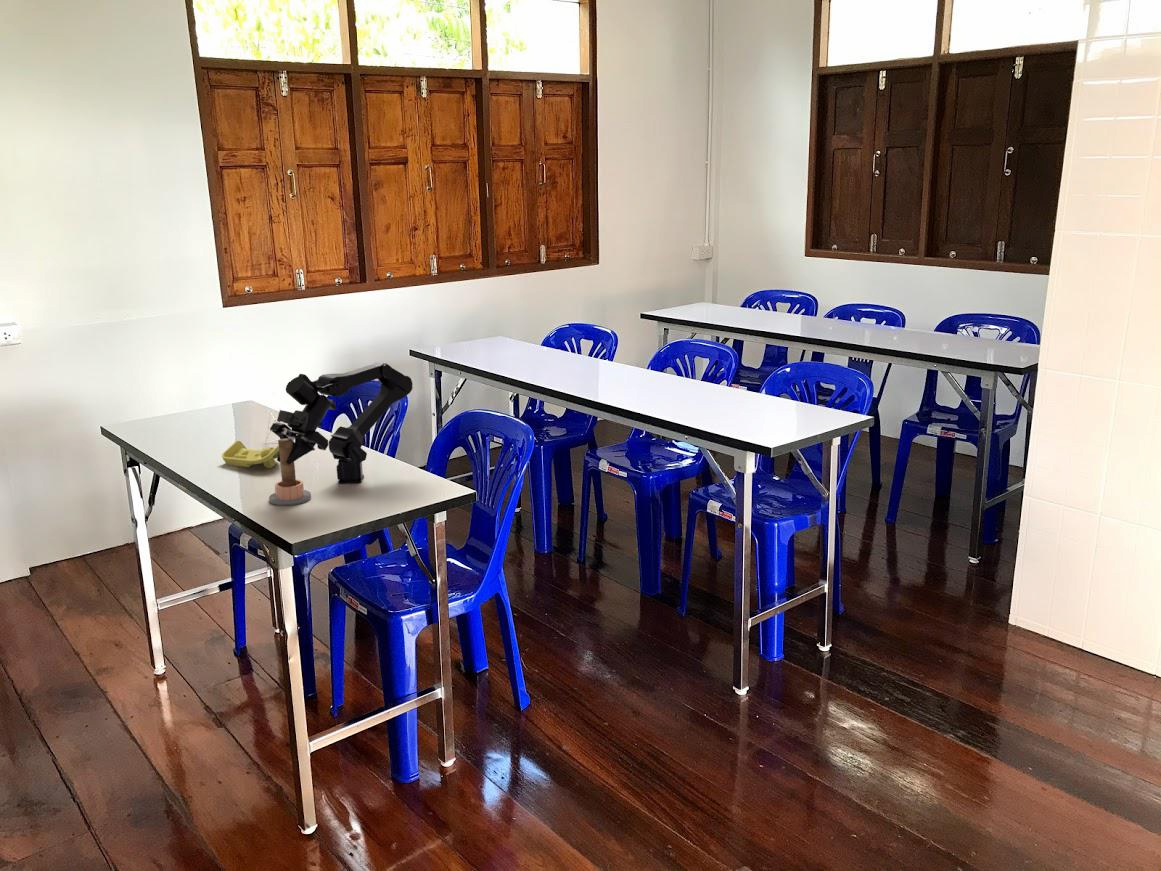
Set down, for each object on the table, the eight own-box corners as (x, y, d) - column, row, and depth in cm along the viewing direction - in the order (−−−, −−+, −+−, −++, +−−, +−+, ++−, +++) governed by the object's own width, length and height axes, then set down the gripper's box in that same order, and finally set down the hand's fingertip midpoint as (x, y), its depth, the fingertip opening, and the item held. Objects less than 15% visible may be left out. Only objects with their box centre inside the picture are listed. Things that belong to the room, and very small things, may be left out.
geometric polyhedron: (266, 447, 316) (264, 420, 313) (263, 439, 325) (261, 413, 323) (306, 443, 320) (304, 417, 318) (301, 435, 330) (299, 409, 328)
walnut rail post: (292, 481, 265) (288, 437, 262) (298, 484, 263) (294, 440, 260) (280, 484, 263) (275, 440, 260) (286, 487, 261) (281, 442, 257)
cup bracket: (314, 492, 270) (313, 476, 269) (306, 505, 259) (305, 489, 258) (274, 493, 269) (273, 478, 268) (264, 506, 258) (263, 490, 257)
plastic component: (218, 457, 296) (240, 437, 302) (230, 475, 300) (251, 455, 307) (262, 462, 286) (283, 441, 292) (273, 481, 290) (294, 459, 296)
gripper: (272, 393, 265) (241, 441, 260) (316, 402, 255) (284, 452, 249) (298, 415, 274) (269, 462, 268) (341, 425, 263) (312, 474, 257)
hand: (282, 462), depth 260 cm, fingers closed on walnut rail post, 4 cm apart
